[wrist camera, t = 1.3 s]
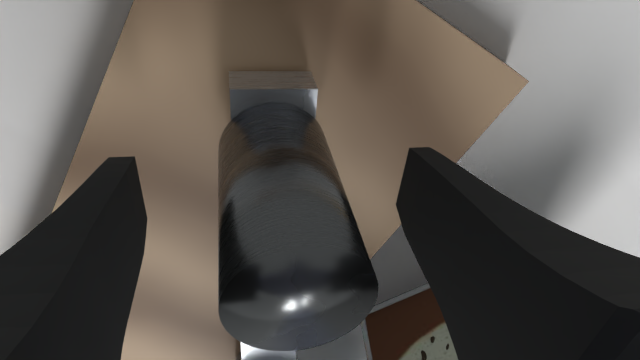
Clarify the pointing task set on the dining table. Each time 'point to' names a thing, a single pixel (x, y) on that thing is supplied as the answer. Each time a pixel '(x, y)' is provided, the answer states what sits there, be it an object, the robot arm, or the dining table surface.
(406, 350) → the food container
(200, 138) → the walnut board
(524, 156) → the dining table surface
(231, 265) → the lever
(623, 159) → the dining table surface
